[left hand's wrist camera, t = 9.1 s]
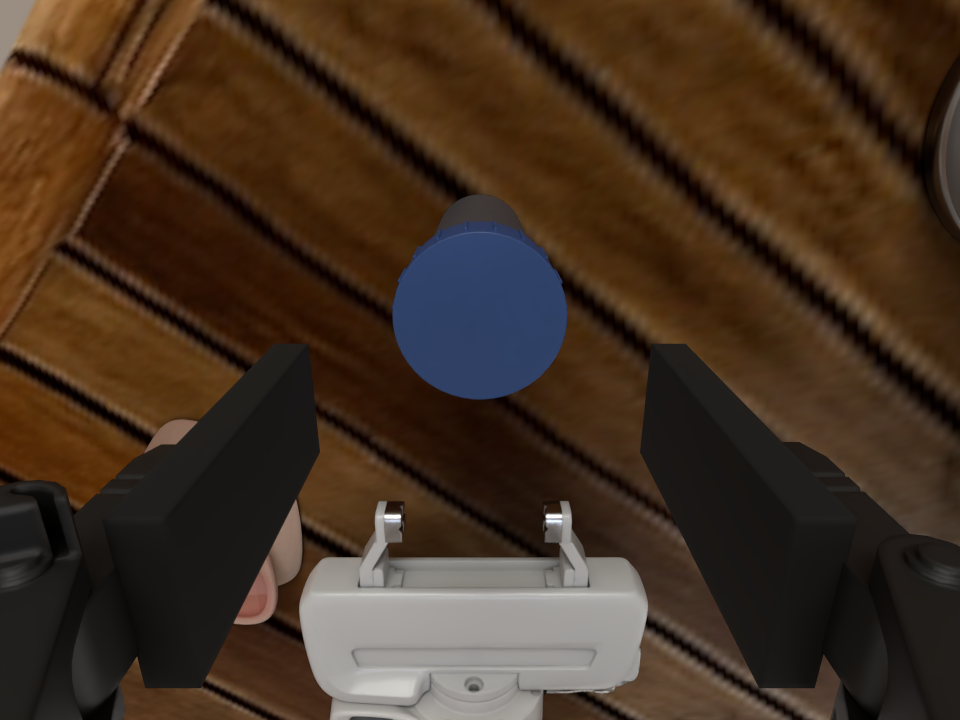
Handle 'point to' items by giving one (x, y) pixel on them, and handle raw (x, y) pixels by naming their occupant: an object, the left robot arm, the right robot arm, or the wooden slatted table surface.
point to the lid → (479, 311)
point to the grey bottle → (479, 212)
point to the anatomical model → (281, 557)
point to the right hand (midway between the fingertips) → (473, 506)
